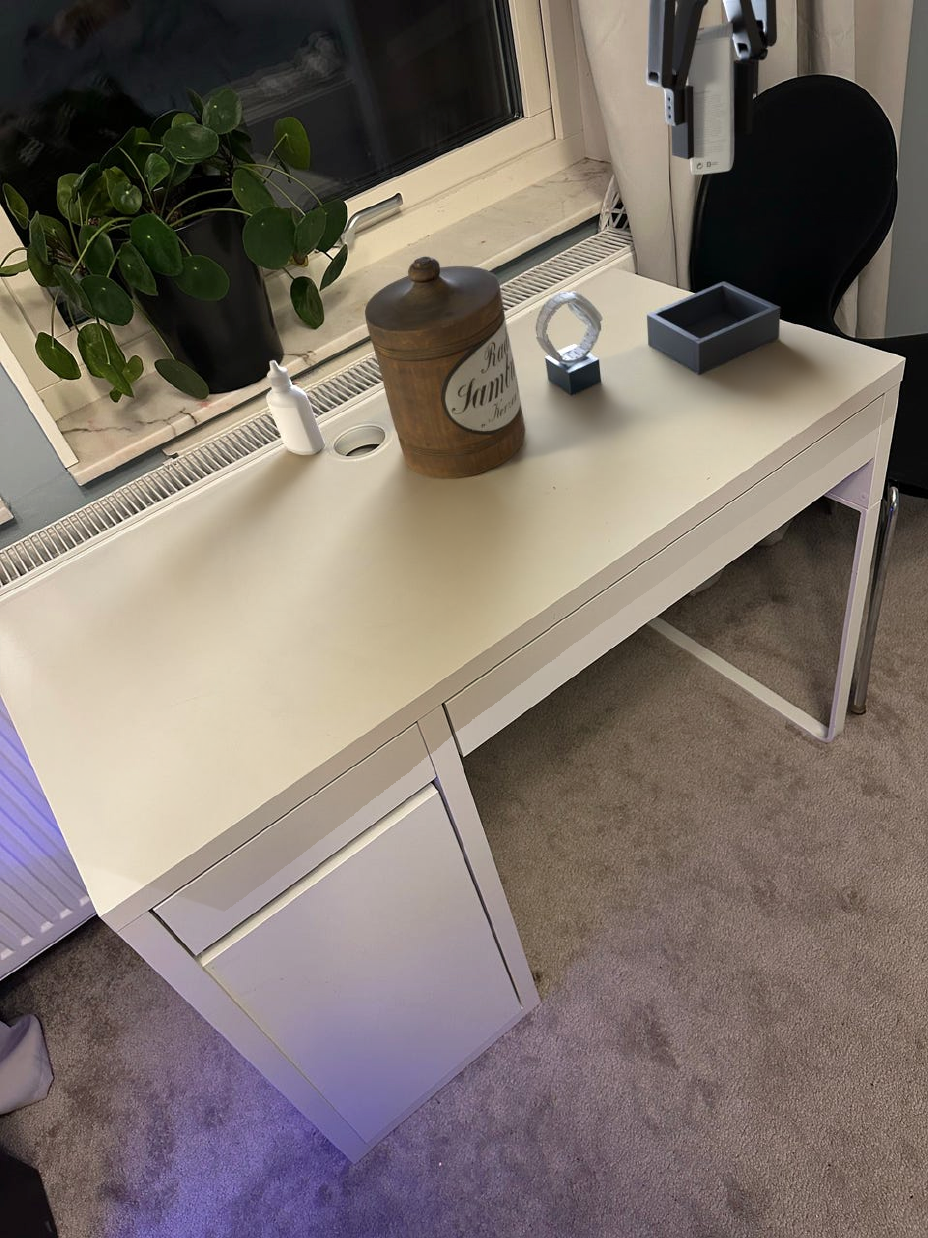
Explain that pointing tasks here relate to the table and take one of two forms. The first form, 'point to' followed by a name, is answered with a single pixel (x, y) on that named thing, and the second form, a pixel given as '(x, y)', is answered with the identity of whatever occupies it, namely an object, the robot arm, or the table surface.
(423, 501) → the table surface
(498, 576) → the table surface
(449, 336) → the wooden container
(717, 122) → the cosmetic box
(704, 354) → the holder
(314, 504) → the table surface
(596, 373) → the watch
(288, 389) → the eye dropper bottle
